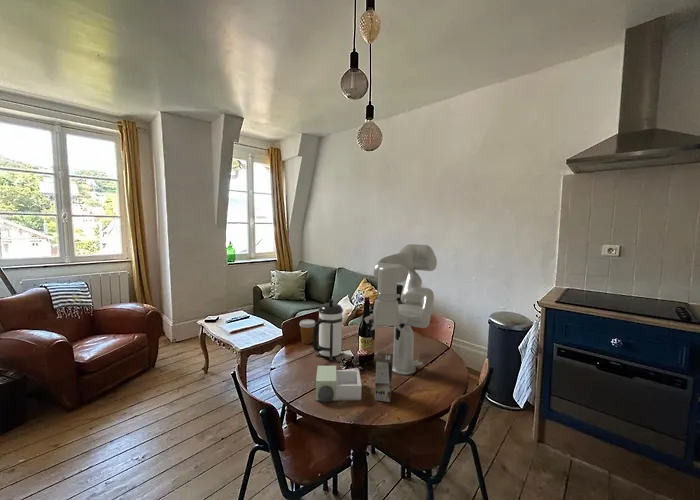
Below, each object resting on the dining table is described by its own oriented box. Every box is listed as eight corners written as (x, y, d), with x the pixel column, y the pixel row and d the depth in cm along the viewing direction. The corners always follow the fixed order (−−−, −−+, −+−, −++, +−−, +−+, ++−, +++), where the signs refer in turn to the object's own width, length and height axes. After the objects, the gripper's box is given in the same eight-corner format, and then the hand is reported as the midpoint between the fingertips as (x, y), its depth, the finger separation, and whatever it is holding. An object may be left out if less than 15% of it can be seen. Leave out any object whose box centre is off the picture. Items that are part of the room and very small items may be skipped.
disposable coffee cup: (314, 345, 176) (314, 324, 175) (297, 344, 176) (298, 324, 175) (316, 338, 186) (316, 319, 185) (300, 338, 186) (300, 318, 185)
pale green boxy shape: (358, 381, 137) (358, 364, 136) (361, 402, 121) (362, 383, 120) (317, 381, 136) (317, 364, 135) (315, 402, 120) (315, 383, 119)
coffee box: (390, 402, 121) (392, 363, 120) (374, 400, 122) (375, 361, 121) (392, 390, 130) (393, 353, 129) (376, 388, 131) (378, 351, 130)
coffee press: (314, 349, 170) (315, 296, 167) (343, 349, 171) (344, 296, 168) (312, 363, 153) (313, 304, 150) (344, 363, 154) (346, 304, 151)
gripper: (406, 295, 127) (404, 335, 128) (364, 294, 126) (362, 335, 127) (410, 299, 119) (408, 342, 120) (366, 298, 118) (364, 342, 120)
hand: (385, 338), depth 124 cm, fingers open, 9 cm apart
